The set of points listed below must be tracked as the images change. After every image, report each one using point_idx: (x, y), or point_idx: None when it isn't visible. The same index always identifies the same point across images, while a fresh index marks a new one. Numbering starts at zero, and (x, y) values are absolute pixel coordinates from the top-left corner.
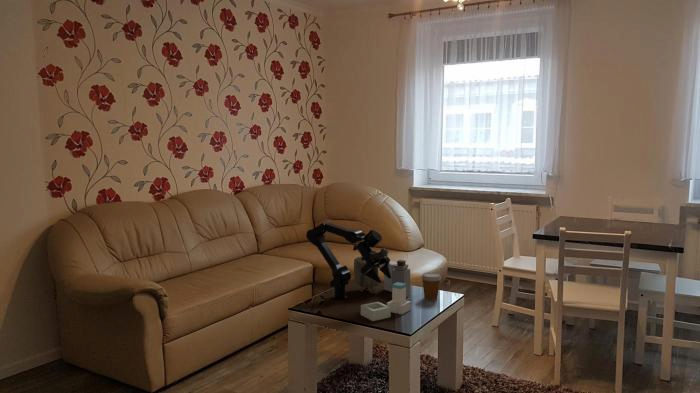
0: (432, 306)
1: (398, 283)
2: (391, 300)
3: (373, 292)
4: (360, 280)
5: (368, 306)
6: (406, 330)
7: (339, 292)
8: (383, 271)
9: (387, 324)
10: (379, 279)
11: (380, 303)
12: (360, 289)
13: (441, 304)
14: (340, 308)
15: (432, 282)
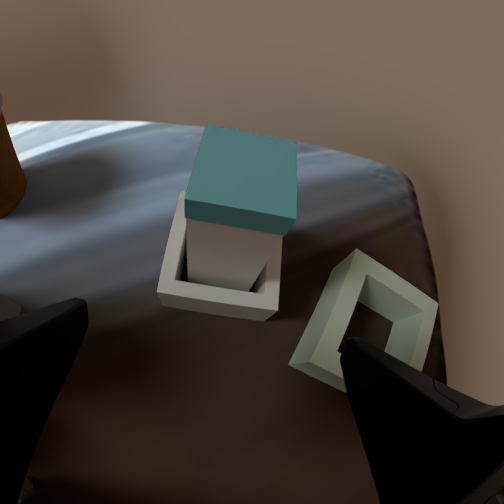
0: (101, 155)
1: (232, 175)
2: (216, 302)
3: (29, 484)
4: None
5: None
6: (395, 181)
7: None
8: (23, 435)
9: (399, 250)
10: (380, 351)
11: (334, 329)
12: None
13: (71, 138)
14: None
15: (2, 117)
